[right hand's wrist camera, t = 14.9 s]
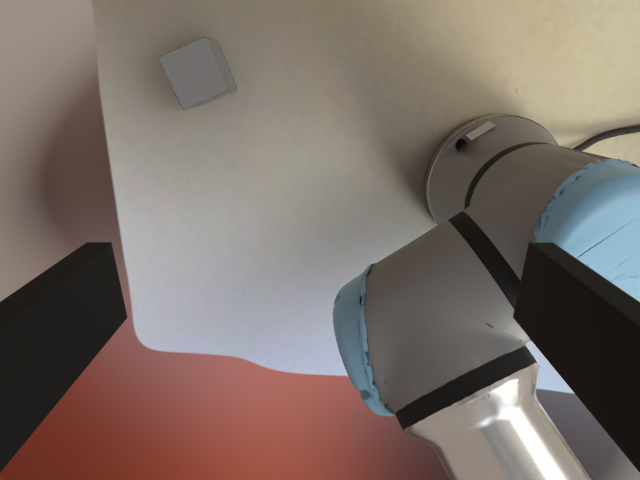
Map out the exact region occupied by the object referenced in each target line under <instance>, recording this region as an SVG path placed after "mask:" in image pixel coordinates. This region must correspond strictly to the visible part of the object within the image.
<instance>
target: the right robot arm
mask: <svg viewBox="0 0 640 480" xmlns="http://www.w3.org/2000/svg"><path fill="white" fill-rule="evenodd" d="M635 132H640V125H638V126H632V127H626V128H620V129H616V130H612V131H608V132H605V133H602V134H599V135H596V136H594V137H592V138H590V139H588V140H587V141H585V142H584V143H582V144H580V145H579V146H577V147H575V148H573V149H570V148H565V147H561V146H559V145H558V144H557V142H556V141H555V139H554V138H553V136H552V135H551V134H550V133H549V132H548V131H547V130H546V129H545V128H544V127H542V126H541V125H539V124H538V123H536V122H534V121H532V120H529V119H527V118H523V117H519V116H513V115H506V114H496V115H488V116H483V117H479V118H477V119H474V120H471V121H469V122H467V123H465V124H464V125H462V126H460V127H459V128H457V129H456V130H455V131H453V132H452V133H451V134H450V135H449V136H448V137H447V138H446V139H445V140H444V141H443V142H442V143H441V144H440V146H439V147H438V148H437V150H436V151H435V153H434V155H433V157H432V159H431V161H430V163H429V166H428V169H427V172H426V177H425V187H424V190H425V199H426V203H427V207H428V209H429V212H430V213H431V215H432V217H433V218H434V220H435V221H436V223H437V224H438V226H436V227H435V228H433V229H432V230H430V231H428V232H427V233H425V234H424V235H422V236H420V237H419V238H417V239H416V240H414V241H412V242H411V243H409V244H408V245H406V246H404V247H403V248H401V249H399V250H398V251H396V252H394V253H393V254H391V255H389V256H388V257H386V258H384V259H383V260H381V261H379V262H378V263H375V264H371V265H369V266H368V267H367V269H366V270H365V271H364V272H363V273H362V274H360V275H359V276H358V277H356V278H355V279H353V280H352V281H350V282H349V283H347V284H346V285H345V286H343V287H342V289H341V290H340V291H339V292H338V294H337V296H336V299H335V302H334V309H333V324H334V331H335V336H336V341H337V345H338V348H339V352H340V355H341V358H342V361H343V363H344V366H345V368H346V371H347V373H348V375H349V378H350V380H351V382H352V384H353V386H354V387H355V389H356V390H359V391H360V394H361V397H362V400H363V401H364V403H365V404H366V405H367V407H368V408H369V409H370V410H371V411H373V412H374V413H376V414H377V415H381V416H385V415H386V416H392V415H394V414H395V415H396V417H397V419H398V421H399V423H400V425H401V427H402V429H403V431H404V433H405V434H406V435H408V436H410V437H413V438H415V439H418V440H420V441H422V442H425V443H427V444H428V445H430V446H431V447H432V448H434V450H435V451H436V453H437V455H438V457H439V459H440V461H441V463H442V465H443V467H444V469H445V471H446V473H447V475H448V477H449V479H450V480H591V478H590V477H589V476H588V474H587V473H586V471H585V470H584V468H583V467H582V465H581V464H580V462H579V461H578V459H577V458H576V456H575V455H574V453H573V452H572V450H571V449H570V447H569V446H568V444H567V443H566V441H565V440H564V438H563V437H562V435H561V434H560V433H559V431H558V429H557V428H556V427H555V425H554V424H553V422H552V421H551V419H550V418H549V416H548V415H547V413H546V412H545V410H544V409H543V407H542V406H541V404H540V403H539V401H538V400H537V397H536V385H537V379H538V373H539V368H540V366H539V364H538V363H537V361H536V360H535V359H534V357H533V356H532V354H531V353H530V351H529V350H528V349H527V347H526V343H527V342H528V341H530V340H532V342H533V343H534V344H535V345H536V346H537V348H538V349H539V350H540V351H541V353H542V354H543V355H544V356H545V357H546V359H547V360H548V361H549V362H550V364H551V365H552V366H553V367H554V368H555V370H556V371H557V372H558V373H559V374H560V376H561V377H562V378H563V379H564V381H565V382H566V383H567V384H568V385H569V387H570V388H571V389H572V390H573V392H574V393H575V394H576V395H577V396H578V398H579V399H580V400H581V401H582V403H583V404H584V405H585V406H586V407H587V409H588V410H589V411H590V412H591V413H592V415H593V416H594V417H595V418H596V420H597V421H598V422H599V423H600V425H601V426H602V427H603V428H604V429H605V431H606V432H607V433H608V434H609V435H610V437H611V438H612V439H613V440H614V442H615V443H616V444H617V445H618V446H619V448H620V449H621V450H622V451H623V453H624V454H625V455H626V456H627V457H628V459H629V460H630V461H631V462H632V463H633V465H634V466H635V467H636V468H637V470H638V471H639V472H640V167H638V166H637V165H635V164H633V163H630V162H628V161H621V160H620V159H619V160H618V159H611V158H607V157H603V156H599V155H595V154H591V153H586V152H582V151H583V150H585V149H586V148H588V147H589V146H591V145H593V144H594V143H596V142H598V141H601V140H604V139H607V138H610V137H614V136H618V135H623V134H629V133H635ZM126 318H127V314H126V309H125V305H124V300H123V295H122V291H121V286H120V281H119V276H118V272H117V267H116V262H115V258H114V253H113V248H112V244H111V242H107V243H106V242H94V243H93V242H88V243H85V244H84V245H83V246H81V247H80V248H78V249H77V250H75V251H74V252H72V253H71V254H69V255H68V256H67V257H65V258H64V259H62V260H61V261H59V262H58V263H56V264H55V265H53V266H52V267H51V268H49V269H48V270H46V271H45V272H43V273H42V274H40V275H39V276H37V277H36V278H35V279H33V280H32V281H30V282H29V283H27V284H26V285H24V286H23V287H21V288H20V289H19V290H17V291H16V292H14V293H13V294H11V295H10V296H8V297H7V298H5V299H4V300H3V301H1V302H0V472H1V471H2V470H3V468H4V467H5V466H6V465H7V464H8V462H9V461H10V460H11V459H12V457H13V456H14V455H15V454H16V453H17V451H18V450H19V449H20V448H21V446H22V445H23V444H24V443H25V442H26V440H27V439H28V438H29V437H30V436H31V434H32V433H33V432H34V431H35V429H36V428H37V427H38V426H39V425H40V423H41V422H42V421H43V420H44V418H45V417H46V416H47V415H48V414H49V412H50V411H51V410H52V409H53V407H54V406H55V405H56V404H57V403H58V401H59V400H60V399H61V398H62V396H63V395H64V394H65V393H66V392H67V390H68V389H69V388H70V387H71V385H72V384H73V383H74V382H75V381H76V379H77V378H78V377H79V376H80V374H81V373H82V372H83V371H84V370H85V368H86V367H87V366H88V365H89V363H90V362H91V361H92V360H93V359H94V357H95V356H96V355H97V354H98V353H99V351H100V350H101V349H102V348H103V346H104V345H105V344H106V343H107V341H108V340H109V339H110V338H111V337H112V335H113V334H114V333H115V332H116V331H117V329H118V328H119V327H120V326H121V324H122V323H123V322H124V321H125V320H126Z"/></svg>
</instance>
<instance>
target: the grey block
mask: <svg viewBox="0 0 640 480" xmlns="http://www.w3.org/2000/svg"><path fill="white" fill-rule="evenodd" d="M158 59H159V61H160V64H161V66H162V68H163V70H164V72H165V74H166V76H167V78H168V80H169V82H170V84H171V86H172V88H173V91H174V93H175V95H176V97H177V99H178V101H179V103H180V105H181V107H182V109H187V108H192V107H197V106H200V105H202V104H204V103H207V102H209V101H212V100H214V99H216V98H219V97H221V96H224V95H226V94H228V93H231V92H233V91H236V90H237V86H236V84H235V82H234V79H233V77H232V75H231V72H230V70H229V67H228V65H227V63H226V60H225V58H224V56H223V53H222V51H221V49H220V46H219V44H218V42H216V41H214V40H211V39H209V38H206V37H203V38H201V39H199V40H196V41H194V42H192V43H189V44H187V45H185V46H183V47H180V48H178V49H176V50H174V51H171V52H169V53H167V54H164V55H162V56H160V57H158Z"/></svg>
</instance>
